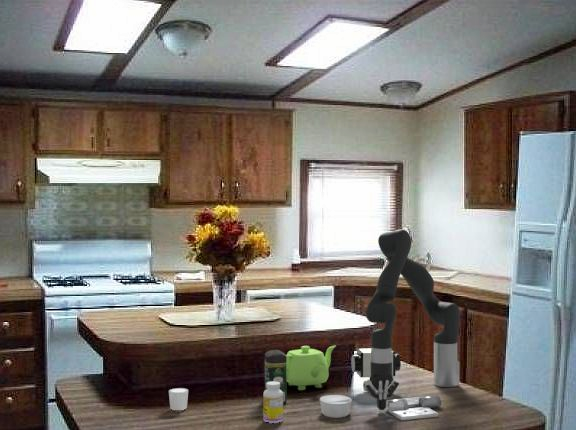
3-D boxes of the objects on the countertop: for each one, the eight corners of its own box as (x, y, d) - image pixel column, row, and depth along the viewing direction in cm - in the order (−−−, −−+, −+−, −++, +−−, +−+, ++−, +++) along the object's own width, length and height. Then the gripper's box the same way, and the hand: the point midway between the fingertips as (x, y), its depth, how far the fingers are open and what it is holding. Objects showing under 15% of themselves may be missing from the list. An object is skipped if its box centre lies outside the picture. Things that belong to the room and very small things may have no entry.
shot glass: (191, 408, 252) (191, 388, 252) (182, 413, 246) (182, 393, 245) (174, 406, 254) (174, 387, 254) (165, 411, 248) (165, 391, 248)
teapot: (297, 397, 266) (297, 355, 266) (272, 384, 285) (272, 345, 285) (353, 389, 278) (353, 349, 278) (325, 377, 297) (325, 339, 297)
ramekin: (342, 421, 237) (342, 405, 237) (313, 415, 243) (313, 400, 243) (357, 412, 247) (357, 397, 247) (329, 407, 253) (329, 393, 253)
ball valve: (395, 387, 280) (395, 343, 280) (401, 393, 272) (401, 347, 272) (350, 389, 278) (350, 344, 278) (355, 394, 270) (355, 348, 269)
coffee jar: (263, 398, 265) (263, 348, 265) (283, 396, 267) (283, 347, 266) (267, 405, 256) (267, 354, 255) (288, 404, 257) (288, 353, 257)
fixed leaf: (425, 399, 263) (425, 388, 263) (442, 408, 251) (442, 397, 251) (390, 402, 258) (390, 392, 258) (405, 412, 247) (405, 400, 247)
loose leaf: (420, 406, 253) (420, 395, 253) (438, 416, 241) (438, 404, 241) (385, 410, 249) (385, 399, 249) (401, 420, 237) (401, 408, 237)
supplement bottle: (262, 418, 240) (262, 380, 240) (282, 417, 240) (282, 380, 240) (263, 424, 233) (263, 385, 233) (283, 423, 234) (283, 385, 234)
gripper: (393, 356, 252) (393, 405, 252) (359, 359, 247) (359, 408, 248) (403, 361, 244) (403, 410, 245) (368, 363, 240) (368, 414, 241)
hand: (381, 409), depth 246 cm, fingers closed
